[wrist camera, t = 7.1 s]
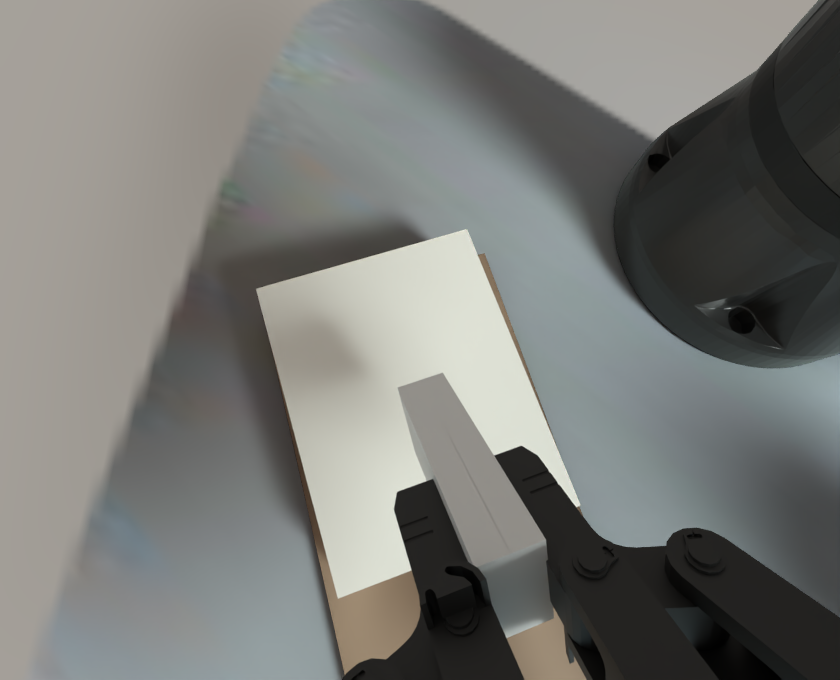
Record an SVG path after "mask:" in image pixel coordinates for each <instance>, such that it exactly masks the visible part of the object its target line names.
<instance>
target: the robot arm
mask: <svg viewBox="0 0 840 680" xmlns="http://www.w3.org/2000/svg"><path fill="white" fill-rule="evenodd" d="M614 231H615V240H616V246H617V250H618V254H619V257H620V260H621V263H622V266H623V268H624V271H625V273H626V275H627V277H628V279H629V281H630V283H631V284H632V286H633V288H634V290H635V291H636V293H637V294H638V296H639V297H640V298H641V300H642V301H643V302H644V304H645V305H646V306H647V307H648V309H649V310H650V311H651V312H652V313H653V314H654V315H655V316H656V317H657V318H658V319H659V320H660V321H661V322H662V323H663V324H664V325H665V326H666V327H668V328H669V329H670V330H671V331H672V332H674V333H675V334H676V335H678V336H679V337H680V338H682V339H683V340H685V341H686V342H688V343H690V344H691V345H693V346H695V347H696V348H698V349H700V350H702V351H704V352H706V353H708V354H711V355H713V356H715V357H718V358H720V359H723V360H726V361H729V362H733V363H737V364H741V365H746V366H751V367H759V368H786V367H794V366H799V365H803V364H807V363H811V362H814V361H817V360H821V359H824V358H827V357H831V356H834V355H837V354H840V0H818V1H817V3H816V4H815V5H814V6H813V7H812V8H811V9H810V10H809V12H808V13H807V14H806V15H805V16H804V17H803V18H802V19H801V21H800V22H799V23H798V24H797V25H796V26H795V27H794V28H793V30H792V31H791V32H790V33H789V34H788V36H787V37H786V38H785V39H784V40H783V42H782V43H781V44H780V45H779V46H778V47H777V48H776V49H775V51H774V52H773V53H772V54H771V55H770V56H769V57H768V58H767V60H766V61H765V62H764V63H763V64H762V65H761V66H760V67H759V69H758V70H757V71H755V72H754V73H752V74H751V75H749V76H747V77H746V78H744V79H743V80H741V81H740V82H738V83H737V84H735V85H734V86H732V87H731V88H729V89H728V90H726V91H725V92H723V93H722V94H720V95H718V96H717V97H715V98H714V99H712V100H711V101H709V102H708V103H706V104H705V105H703V106H702V107H700V108H698V109H697V110H695V111H694V112H692V113H691V114H689V115H688V116H686V117H685V118H683V119H682V120H680V121H678V122H677V123H675V124H674V125H673V126H671V127H669V128H668V129H667V130H666V131H664V132H663V133H662V134H661V135H660V136H659V137H658V138H657V139H656V140H655V141H654V142H653V143H652V144H651V145H650V146H649V147H648V149H647V150H646V151H645V153H644V154H643V155H642V157H641V158H640V159H639V161H638V162H637V163H636V165H635V166H634V167H633V169H632V170H631V171H630V173H629V174H628V176H627V177H626V179H625V181H624V183H623V185H622V187H621V190H620V192H619V195H618V199H617V202H616V208H615V216H614ZM397 388H398V392H399V395H400V399H401V403H402V406H403V410H404V414H405V417H406V421H407V424H408V428H409V432H410V435H411V439H412V443H413V446H414V450H415V453H416V456H417V458H418V461H419V463H420V466H421V468H422V471H423V473H424V476H425V478H426V482H423V483H420V484H417V485H414V486H412V487H409V488H406V489H403V490H401V491H398V492H397V495H396V500H395V506H394V512H395V515H396V519H397V522H398V526H399V529H400V533H401V536H402V539H403V543H404V546H405V550H406V553H407V556H408V560H409V563H410V567H411V570H412V574H413V577H414V580H415V584H416V587H417V591H418V594H419V601H420V608H421V609H420V617H419V621H418V624H417V627H416V628H415V630H414V632H413V633H412V635H411V637H410V638H409V639H408V640H407V641H406V642H405V643H404V644H403V645H402V646H401V647H400V648H399V649H397V650H396V651H395V652H394V653H393V654H392V655H390V656H389V657H388V658H387V659H386V660H385V659H375V658H371V659H368V660H365V661H362V662H360V663H358V664H357V665H355V666H354V667H353V668H352V669H351V670H349V671H348V672H347V673H346V675H345V676H344V678H343V679H342V680H524V677H523V675H522V673H521V670H520V668H519V666H518V663H517V661H516V659H515V657H514V654H513V652H512V650H511V647H510V645H509V643H508V640H507V638H508V637H511V636H513V635H515V634H518V633H520V632H522V631H525V630H527V629H530V628H532V627H534V626H537V625H539V624H541V623H544V622H546V621H549V620H551V619H553V618H554V612H553V607H554V609H555V611H556V612H557V614H558V616H559V618H560V620H561V621H562V623H563V625H564V634H565V646H566V654H567V657H568V660H569V663H570V664H571V663H573V662H574V657H575V659H576V661H577V663H578V664H579V666H580V668H581V670H582V672H583V674H584V676H585V677H586V679H587V680H840V618H839V617H838V616H837V615H835V614H834V613H832V612H831V611H829V610H828V609H826V608H825V607H824V606H822V605H821V604H819V603H818V602H816V601H815V600H813V599H812V598H811V597H809V596H808V595H806V594H805V593H803V592H802V591H800V590H799V589H798V588H796V587H795V586H793V585H792V584H790V583H789V582H787V581H786V580H785V579H783V578H782V577H780V576H779V575H777V574H776V573H774V572H773V571H772V570H770V569H769V568H767V567H766V566H764V565H763V564H761V563H760V562H759V561H757V560H756V559H754V558H753V557H751V556H750V555H748V554H747V553H746V552H744V551H743V550H741V549H740V548H738V547H737V546H735V545H734V544H733V543H731V542H730V541H728V540H727V539H725V538H723V537H722V536H720V535H718V534H716V533H714V532H712V531H708V530H704V529H700V528H686V529H682V530H679V531H677V532H675V533H673V534H672V535H671V537H670V538H669V539H668V541H667V545H666V546H657V547H639V548H634V547H624V546H620V545H616V544H613V543H612V542H610V541H608V540H605V539H604V538H602V537H601V536H599V535H598V534H597V533H596V532H595V531H594V530H593V529H592V528H591V527H590V525H589V524H588V522H587V521H586V520H585V518H584V517H583V516H582V514H581V513H580V512H579V510H578V509H577V508H576V506H575V505H574V504H573V502H572V501H571V500H570V498H569V497H568V495H567V494H566V493H565V491H564V490H563V489H562V487H561V486H560V485H558V483H557V481H556V479H555V478H554V477H553V475H552V474H551V473H550V472H549V470H548V469H547V467H546V466H545V464H544V463H543V462H542V460H541V459H540V458H539V456H538V455H536V454H535V453H533V452H531V451H530V450H528V449H526V448H525V447H523V446H519V447H516V448H513V449H511V450H508V451H505V452H502V453H500V454H497V455H493V453H492V451H491V450H490V448H489V447H488V445H487V443H486V442H485V440H484V439H483V437H482V435H481V434H480V432H479V430H478V429H477V427H476V426H475V424H474V422H473V421H472V419H471V417H470V416H469V414H468V413H467V411H466V409H465V408H464V406H463V405H462V403H461V401H460V400H459V398H458V396H457V395H456V393H455V392H454V390H453V388H452V387H451V385H450V383H449V382H448V380H447V379H446V377H445V375H444V374H443V373H440V374H437V375H434V376H431V377H428V378H425V379H422V380H419V381H416V382H412V383H409V384H406V385H403V386H400V387H397Z"/></svg>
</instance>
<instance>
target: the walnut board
mask: <svg viewBox="0 0 840 680" xmlns="http://www.w3.org/2000/svg"><path fill="white" fill-rule="evenodd" d="M478 257H479V260H480V262H481V264H482V267H483V269H484V272H485V274H486V277H487V279H488V281H489V284H490V286H491V289H492V291H493V294H494V296H495V298H496V301H497V303H498V306H499V308H500V311H501V313H502V315H503V318H504V320H505V323H506V325H507V328H508V330H509V332H510V335H511V337H512V340H513V342H514V345H515V347H516V349H517V352H518V354H519V357H520V359H521V362H522V364H523V366H524V369H525V371H526V374H527V376H528V379H529V381H530V383H531V386H532V388H533V391H534V393H535V396H536V398H537V400H538V403H539V405H540V408H541V410H542V413H543V415H544V417H545V420H546V422H547V419H546V416H545V414H544V411H543V408H542V406H541V403H540V400H539V398H538V395H537V392H536V390H535V387H534V384H533V382H532V379H531V376H530V374H529V371H528V368H527V366H526V363H525V360H524V358H523V355H522V352H521V350H520V347H519V344H518V342H517V339H516V336H515V334H514V331H513V328H512V326H511V323H510V320H509V318H508V315H507V312H506V310H505V307H504V304H503V302H502V299H501V296H500V294H499V291H498V288H497V286H496V283H495V280H494V278H493V275H492V272H491V270H490V267H489V264H488V262H487V259H486V256H485V254H480V255H478ZM273 357H274V355H273ZM274 361H275V359H274ZM275 366H276V363H275ZM276 370H277V367H276ZM277 375H278V379H279V384H280V388H281V393H282V397H283V402H284V406H285V410H286V415H287V419H288V424H289V428H290V433H291V437H292V442H293V446H294V451H295V455H296V460H297V464H298V468H299V473H300V477H301V482H302V486H303V491H304V495H305V500H306V504H307V509H308V513H309V517H310V522H311V526H312V531H313V535H314V540H315V544H316V549H317V553H318V558H319V562H320V567H321V571H322V575H323V580H324V584H325V589H326V593H327V598H328V602H329V607H330V611H331V616H332V620H333V625H334V629H335V633H336V638H337V642H338V647H339V651H340V656H341V660H342V665H343V669H344V674H345V675H346V673H347V672H348V671H349V670H351V669H352V668H353V667H354V666H355V665H357V664H358V663H360V662H362V661H365V660H368V659H371V658H375V659H385V660H386V659H387V658H388V657H389V656H390V655H392V654H393V653H394V652H395V651H396V650H397V649H399V648H400V647H401V646H402V645H403V644H404V643H405V642H406V641H407V640H408V639H409V638H410V637H411V635H412V633H413V632H414V630H415V628H416V627H417V624H418V621H419V617H420V609H421V608H420V601H419V594H418V591H417V587H416V584H415V580H414V577H413V574H412V570H411V571H409V572H406V573H404V574H401V575H398V576H396V577H393V578H391V579H388V580H385V581H383V582H380V583H378V584H375V585H372V586H370V587H367V588H365V589H362V590H359V591H357V592H354V593H352V594H349V595H346V596H344V597H341V598H339V599H338V597H337V593H336V590H335V586H334V582H333V578H332V575H331V571H330V567H329V563H328V559H327V556H326V552H325V548H324V544H323V541H322V537H321V533H320V529H319V525H318V522H317V518H316V514H315V510H314V506H313V503H312V499H311V495H310V491H309V488H308V484H307V480H306V476H305V472H304V469H303V465H302V461H301V457H300V454H299V450H298V446H297V442H296V438H295V435H294V431H293V427H292V423H291V420H290V416H289V412H288V408H287V404H286V401H285V397H284V393H283V389H282V386H281V382H280V378H279V374H278V370H277ZM547 425H548V427H549V424H548V422H547ZM549 430H550V427H549ZM550 432H551V430H550ZM551 434H552V432H551ZM552 437H553V435H552ZM553 439H554V438H553ZM554 442H555V440H554ZM555 444H556V443H555ZM556 447H557V446H556ZM557 449H558V448H557ZM576 508H577V509H578V510H579V512H580V513H581V514H582V512H581V510H580V507H579V506H578V507H576ZM582 516H583V515H582ZM553 612H554V618H553V619H551V620H549V621H546V622H544V623H541V624H539V625H537V626H534V627H532V628H530V629H527V630H525V631H522V632H520V633H518V634H515V635H513V636H511V637H508V638H507V640H508V643H509V645H510V647H511V650H512V652H513V654H514V657H515V659H516V661H517V663H518V666H519V668H520V670H521V673H522V675H523V677H524V680H587V679H586V677H585V676H584V674H583V672H582V670H581V668H580V666H579V664H578V663H577V661H576V659H575V657H574V662H573V663H571V664H570V663H569V660H568V657H567V654H566V646H565V634H564V625H563V623H562V621H561V620H560V618H559V616H558V614H557V612H556V611H555V609H554V607H553Z"/></svg>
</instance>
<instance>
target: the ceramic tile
mask: <svg viewBox="0 0 840 680" xmlns="http://www.w3.org/2000/svg"><path fill="white" fill-rule="evenodd" d="M256 291H257V295H258V299H259V302H260V306H261V310H262V314H263V317H264V321H265V325H266V329H267V333H268V336H269V340H270V344H271V348H272V352H273V355H274V359H275V363H276V367H277V370H278V374H279V378H280V382H281V386H282V389H283V393H284V397H285V401H286V404H287V408H288V412H289V416H290V420H291V423H292V427H293V431H294V435H295V438H296V442H297V446H298V450H299V454H300V457H301V461H302V465H303V469H304V472H305V476H306V480H307V484H308V488H309V491H310V495H311V499H312V503H313V506H314V510H315V514H316V518H317V522H318V525H319V529H320V533H321V537H322V541H323V544H324V548H325V552H326V556H327V559H328V563H329V567H330V571H331V575H332V578H333V582H334V586H335V590H336V593H337V597H338V599H339V598H341V597H344V596H346V595H349V594H352V593H354V592H357V591H359V590H362V589H365V588H367V587H370V586H372V585H375V584H378V583H380V582H383V581H385V580H388V579H391V578H393V577H396V576H398V575H401V574H404V573H406V572H409V571H411V567H410V563H409V560H408V556H407V553H406V550H405V546H404V543H403V539H402V536H401V533H400V529H399V526H398V522H397V519H396V515H395V512H394V506H395V500H396V495H397V492H398V491H401V490H403V489H406V488H409V487H412V486H414V485H417V484H420V483H423V482H426V478H425V476H424V473H423V471H422V468H421V466H420V463H419V461H418V458H417V456H416V453H415V450H414V446H413V443H412V439H411V435H410V432H409V428H408V424H407V421H406V417H405V414H404V410H403V406H402V403H401V399H400V395H399V392H398V388H397V387H400V386H403V385H406V384H409V383H412V382H416V381H419V380H422V379H425V378H428V377H431V376H434V375H437V374H440V373H443V374H444V375H445V377H446V379H447V380H448V382H449V383H450V385H451V387H452V388H453V390H454V392H455V393H456V395H457V396H458V398H459V400H460V401H461V403H462V405H463V406H464V408H465V409H466V411H467V413H468V414H469V416H470V417H471V419H472V421H473V422H474V424H475V426H476V427H477V429H478V430H479V432H480V434H481V435H482V437H483V439H484V440H485V442H486V443H487V445H488V447H489V448H490V450H491V451H492V453H493V455H497V454H500V453H502V452H505V451H508V450H511V449H513V448H516V447H519V446H523V447H525V448H526V449H528V450H530V451H531V452H533V453H535V454H536V455H538V456H539V458H540V459H541V460H542V462H543V463H544V464H545V466H546V467H547V469H548V470H549V472H550V473H551V474H552V475H553V477H554V478H555V479H556V481H557V483H558V485H560V486H561V487H562V489H563V490H564V491H565V493H566V494H567V495H568V497H569V498H570V500H571V501H572V502H573V504H574V505H575V506H576V507H578V506H581V505H580V502H579V500H578V498H577V495H576V493H575V490H574V488H573V485H572V483H571V481H570V478H569V476H568V473H567V471H566V468H565V466H564V464H563V461H562V459H561V456H560V454H559V451H558V449H557V447H556V444H555V442H554V439H553V437H552V434H551V432H550V430H549V427H548V425H547V422H546V420H545V417H544V415H543V413H542V410H541V408H540V405H539V403H538V400H537V398H536V396H535V393H534V391H533V388H532V386H531V383H530V381H529V379H528V376H527V374H526V371H525V369H524V366H523V364H522V362H521V359H520V357H519V354H518V352H517V349H516V347H515V345H514V342H513V340H512V337H511V335H510V332H509V330H508V328H507V325H506V323H505V320H504V318H503V315H502V313H501V311H500V308H499V306H498V303H497V301H496V298H495V296H494V294H493V291H492V289H491V286H490V284H489V281H488V279H487V277H486V274H485V272H484V269H483V267H482V264H481V262H480V260H479V257H478V255H477V252H476V250H475V247H474V245H473V243H472V240H471V238H470V235H469V233H468V230H467V229H466V230H462V231H459V232H455V233H451V234H448V235H444V236H441V237H437V238H434V239H430V240H427V241H423V242H420V243H416V244H413V245H409V246H405V247H402V248H398V249H395V250H391V251H388V252H384V253H381V254H377V255H374V256H370V257H367V258H363V259H360V260H356V261H352V262H349V263H345V264H342V265H338V266H335V267H331V268H328V269H324V270H321V271H317V272H314V273H310V274H306V275H303V276H299V277H296V278H292V279H289V280H285V281H282V282H278V283H275V284H271V285H268V286H264V287H260V288H257V289H256Z"/></svg>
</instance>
